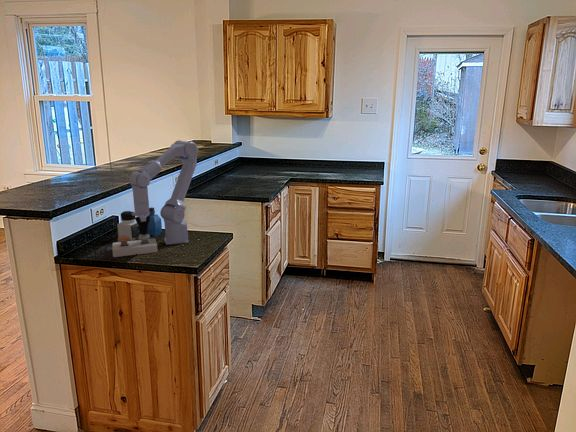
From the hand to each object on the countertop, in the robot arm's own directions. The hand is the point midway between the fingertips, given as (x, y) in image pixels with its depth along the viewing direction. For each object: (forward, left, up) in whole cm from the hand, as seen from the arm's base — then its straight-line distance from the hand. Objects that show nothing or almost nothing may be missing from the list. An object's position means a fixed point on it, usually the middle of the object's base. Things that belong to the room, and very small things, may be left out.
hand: (144, 234), depth 188 cm
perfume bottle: (-5, -23, -7) cm, 24 cm away
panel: (+4, 0, -7) cm, 8 cm away
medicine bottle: (+5, -20, -7) cm, 22 cm away
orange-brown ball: (+8, 0, -4) cm, 9 cm away
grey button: (0, 0, -4) cm, 4 cm away
